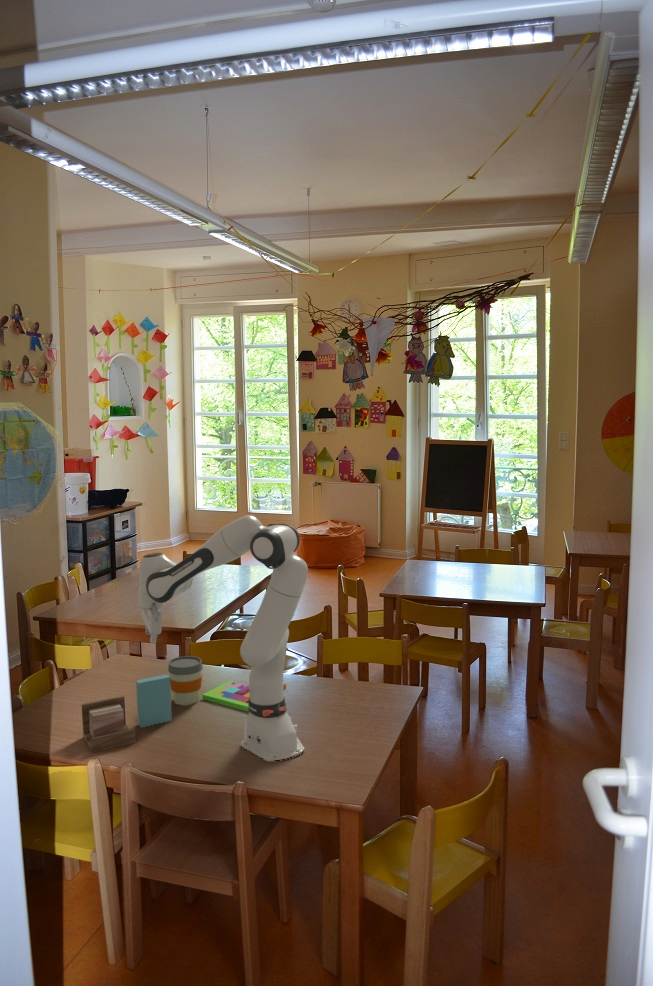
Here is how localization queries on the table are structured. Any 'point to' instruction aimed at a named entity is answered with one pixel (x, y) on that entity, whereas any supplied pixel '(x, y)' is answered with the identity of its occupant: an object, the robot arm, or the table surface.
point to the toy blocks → (231, 695)
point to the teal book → (153, 700)
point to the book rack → (106, 724)
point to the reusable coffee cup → (185, 679)
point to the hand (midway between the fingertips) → (150, 638)
